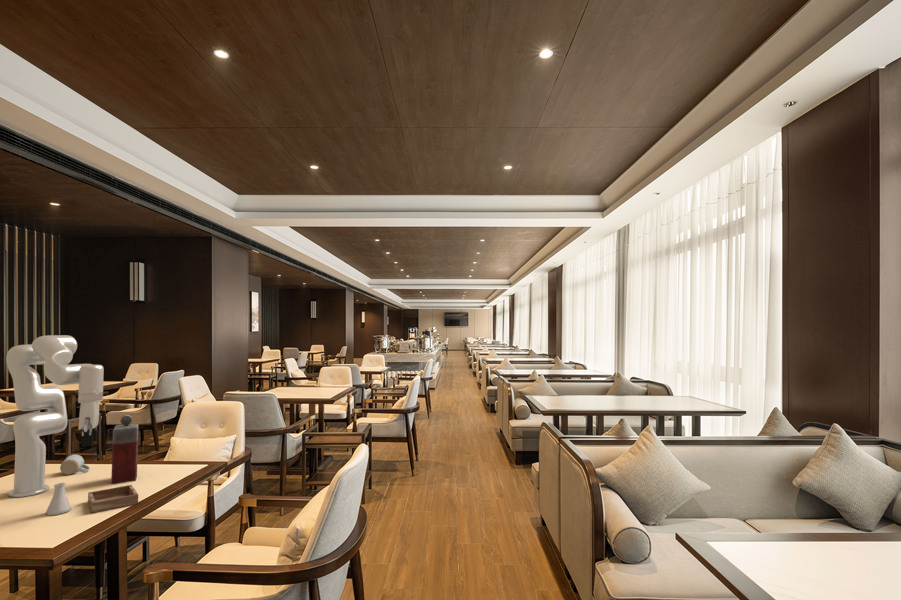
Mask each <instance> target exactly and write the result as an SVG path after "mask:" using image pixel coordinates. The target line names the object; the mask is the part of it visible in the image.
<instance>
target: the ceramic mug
mask: <svg viewBox="0 0 901 600" xmlns="http://www.w3.org/2000/svg"><path fill="white" fill-rule="evenodd" d="M90 469H91V468H90V466H89V465H87V464H85V460H84V458H83V456H81V455H79V454H71V455H69V456H67V457H66V458H65V459H64V460H63V461H62V462H61V464H60V466H59V470H60V472H61V473H62V474H63V475H66V476H69V475H74V474H75V473H77V472H79V473H87V472H89V471H90Z"/></svg>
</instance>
